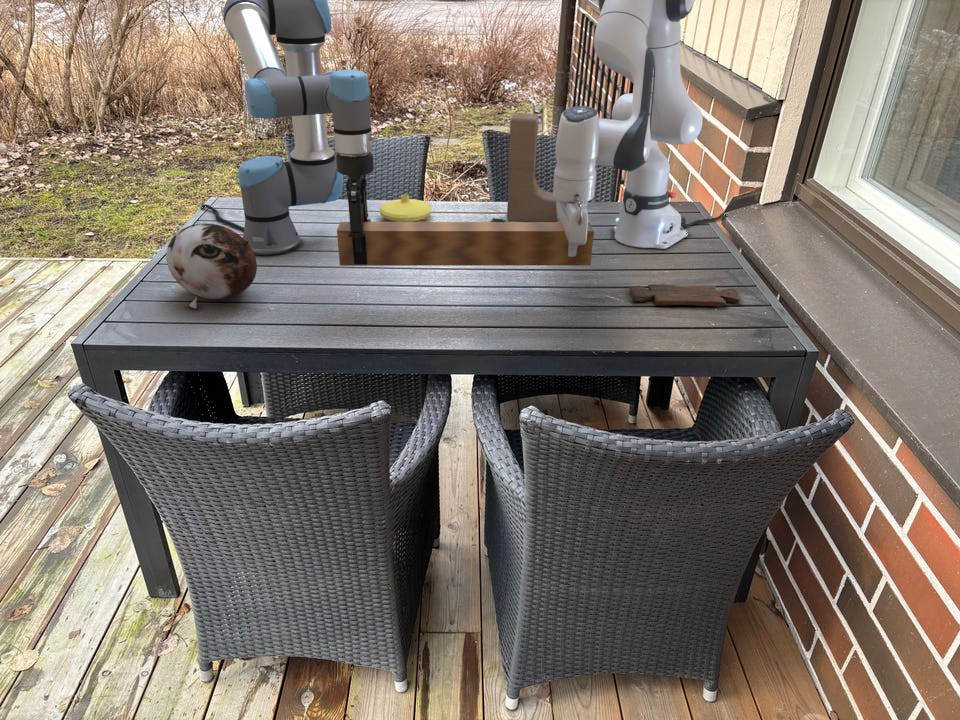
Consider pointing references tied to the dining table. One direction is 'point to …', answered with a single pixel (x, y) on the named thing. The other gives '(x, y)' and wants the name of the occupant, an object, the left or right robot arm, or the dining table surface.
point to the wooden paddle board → (684, 295)
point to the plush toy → (211, 261)
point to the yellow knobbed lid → (405, 210)
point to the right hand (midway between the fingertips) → (569, 249)
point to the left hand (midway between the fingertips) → (362, 258)
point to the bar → (464, 244)
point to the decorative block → (526, 174)
